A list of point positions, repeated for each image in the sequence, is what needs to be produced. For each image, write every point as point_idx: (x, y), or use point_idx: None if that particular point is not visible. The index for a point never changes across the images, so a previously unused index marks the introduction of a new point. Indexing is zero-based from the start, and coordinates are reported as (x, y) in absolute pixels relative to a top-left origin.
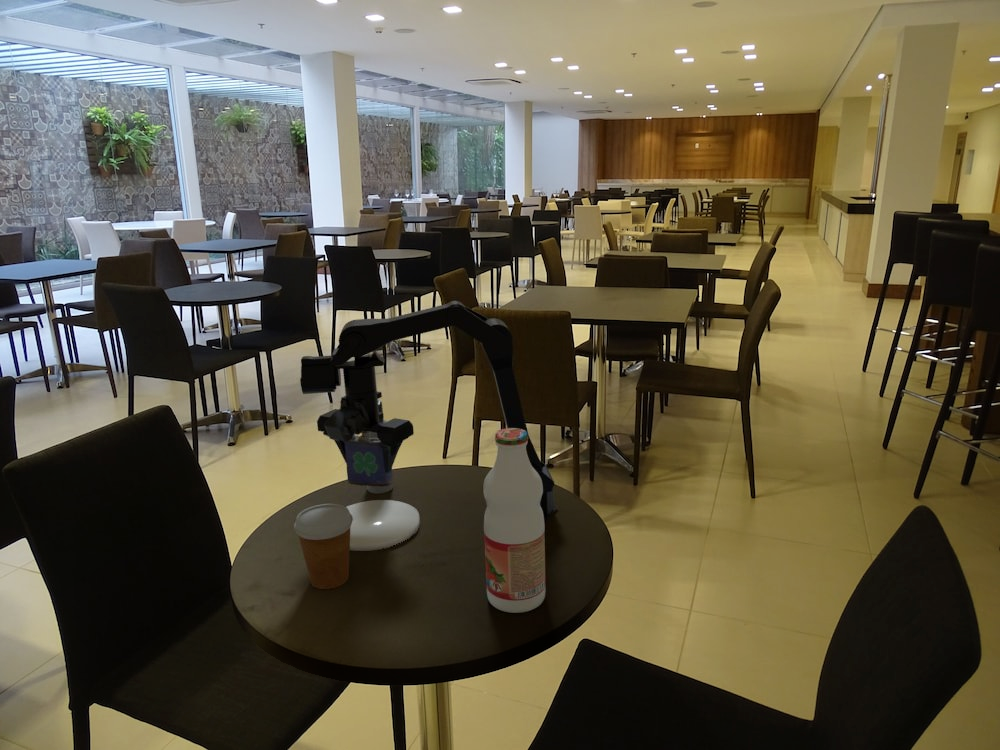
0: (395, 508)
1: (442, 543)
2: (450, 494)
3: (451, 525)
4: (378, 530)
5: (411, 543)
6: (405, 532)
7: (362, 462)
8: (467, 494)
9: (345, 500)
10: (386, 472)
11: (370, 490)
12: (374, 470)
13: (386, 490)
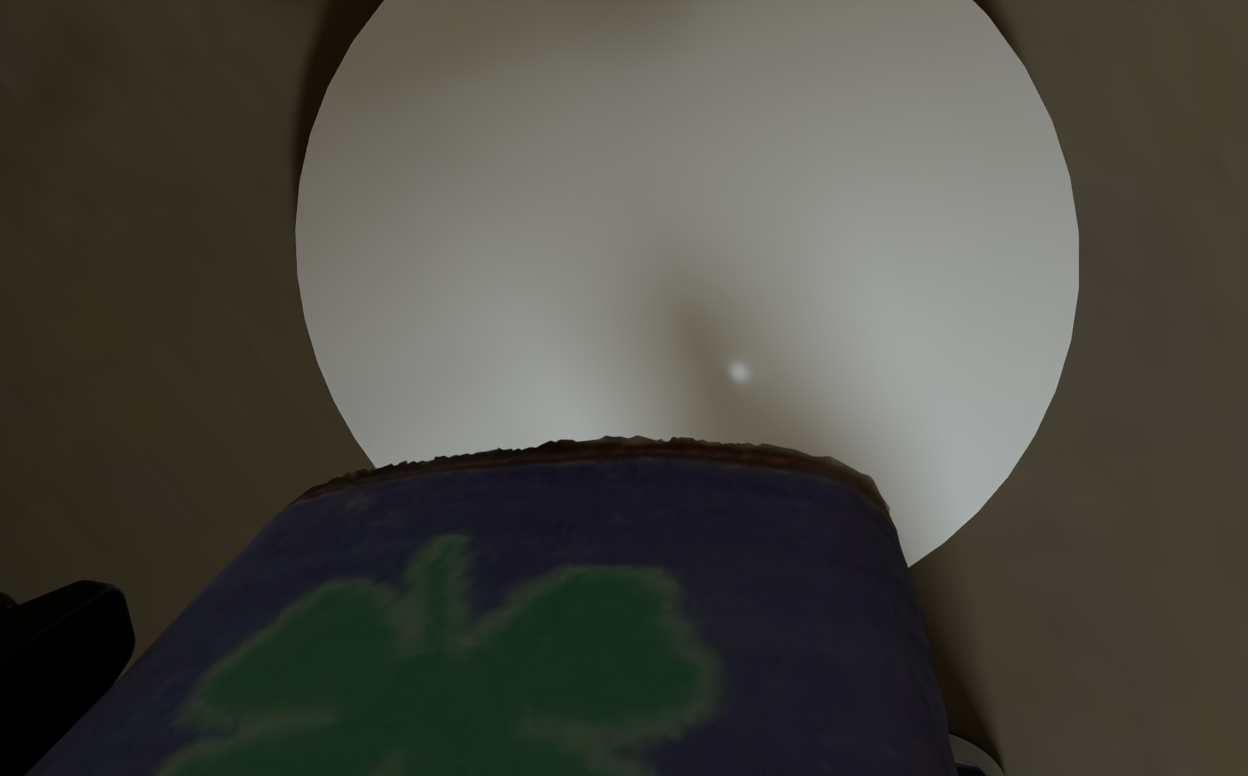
0: None
1: (109, 244)
2: None
3: (218, 459)
4: (509, 190)
5: (271, 178)
6: (303, 227)
7: (444, 732)
8: None
9: (1104, 621)
10: (85, 581)
11: (955, 747)
12: (308, 615)
13: None
